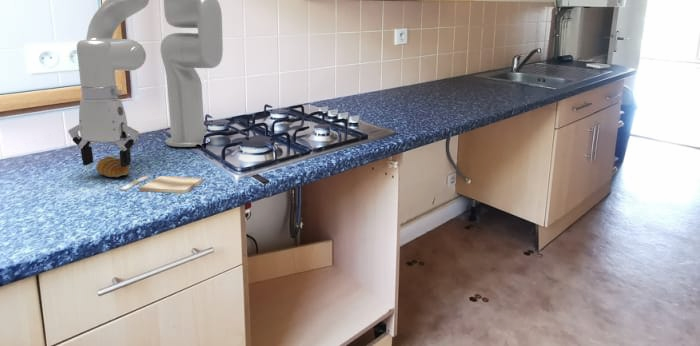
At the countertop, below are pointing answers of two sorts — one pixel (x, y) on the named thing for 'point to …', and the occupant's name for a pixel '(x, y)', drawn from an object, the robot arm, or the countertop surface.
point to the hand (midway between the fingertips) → (106, 164)
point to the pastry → (111, 167)
